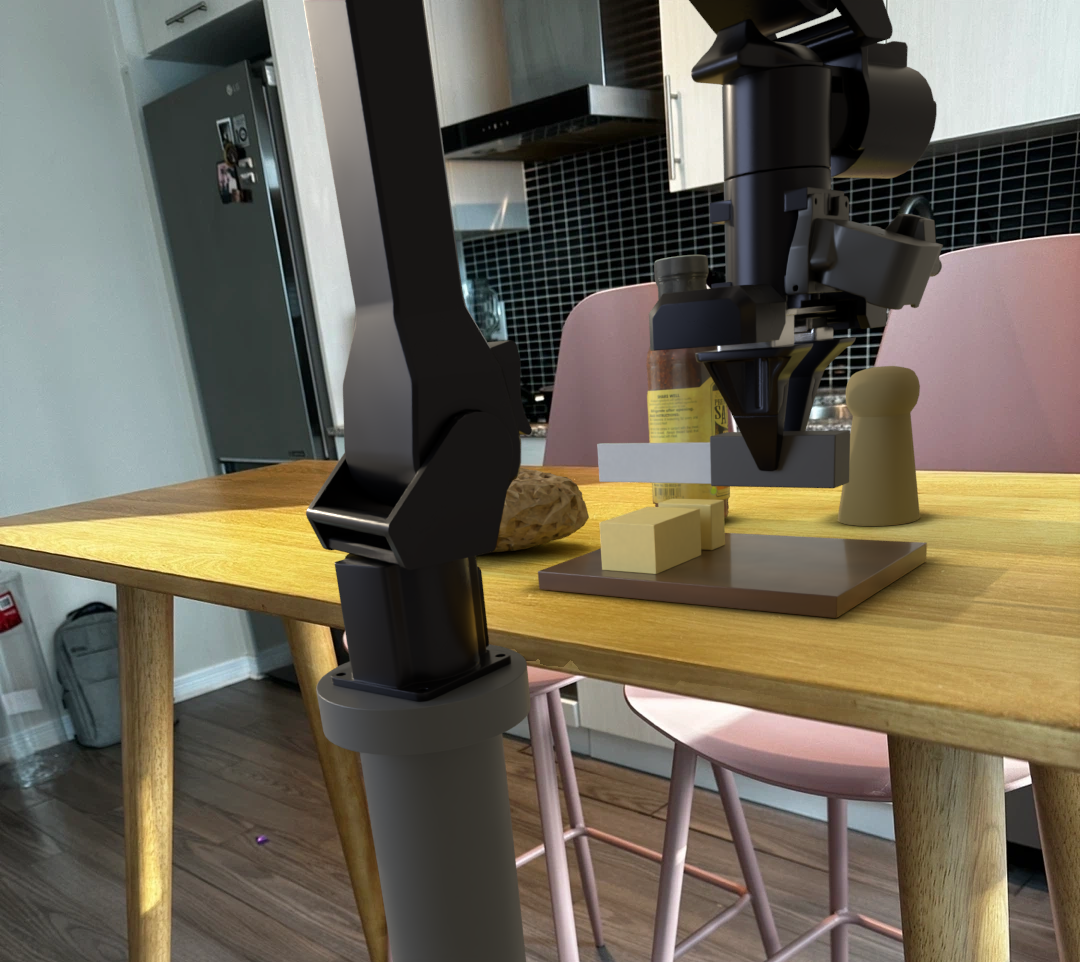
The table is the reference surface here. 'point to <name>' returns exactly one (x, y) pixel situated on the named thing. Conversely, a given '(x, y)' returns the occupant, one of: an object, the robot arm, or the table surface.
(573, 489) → the sponge
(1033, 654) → the table surface
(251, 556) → the table surface
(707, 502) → the block
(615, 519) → the butter block
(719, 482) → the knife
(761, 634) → the table surface
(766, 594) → the cutting board
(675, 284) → the sauce bottle
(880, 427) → the cork
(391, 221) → the robot arm
